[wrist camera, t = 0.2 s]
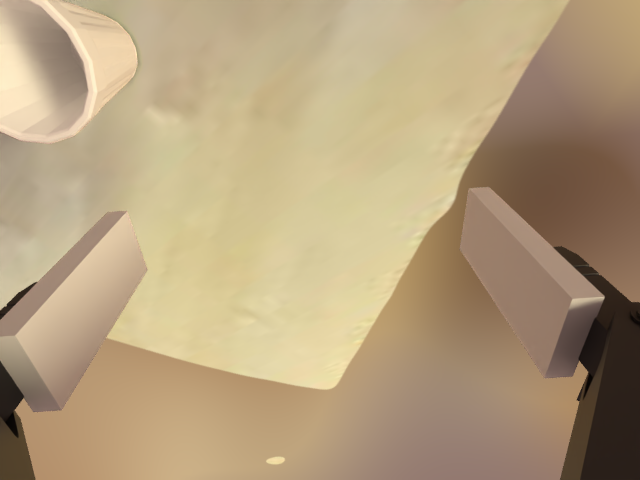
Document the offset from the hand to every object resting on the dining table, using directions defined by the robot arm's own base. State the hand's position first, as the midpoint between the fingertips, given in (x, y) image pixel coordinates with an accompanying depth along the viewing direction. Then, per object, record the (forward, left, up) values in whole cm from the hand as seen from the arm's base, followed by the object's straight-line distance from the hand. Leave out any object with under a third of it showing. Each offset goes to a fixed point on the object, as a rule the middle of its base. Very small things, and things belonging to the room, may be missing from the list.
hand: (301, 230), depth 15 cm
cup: (-6, -18, -28) cm, 34 cm away
